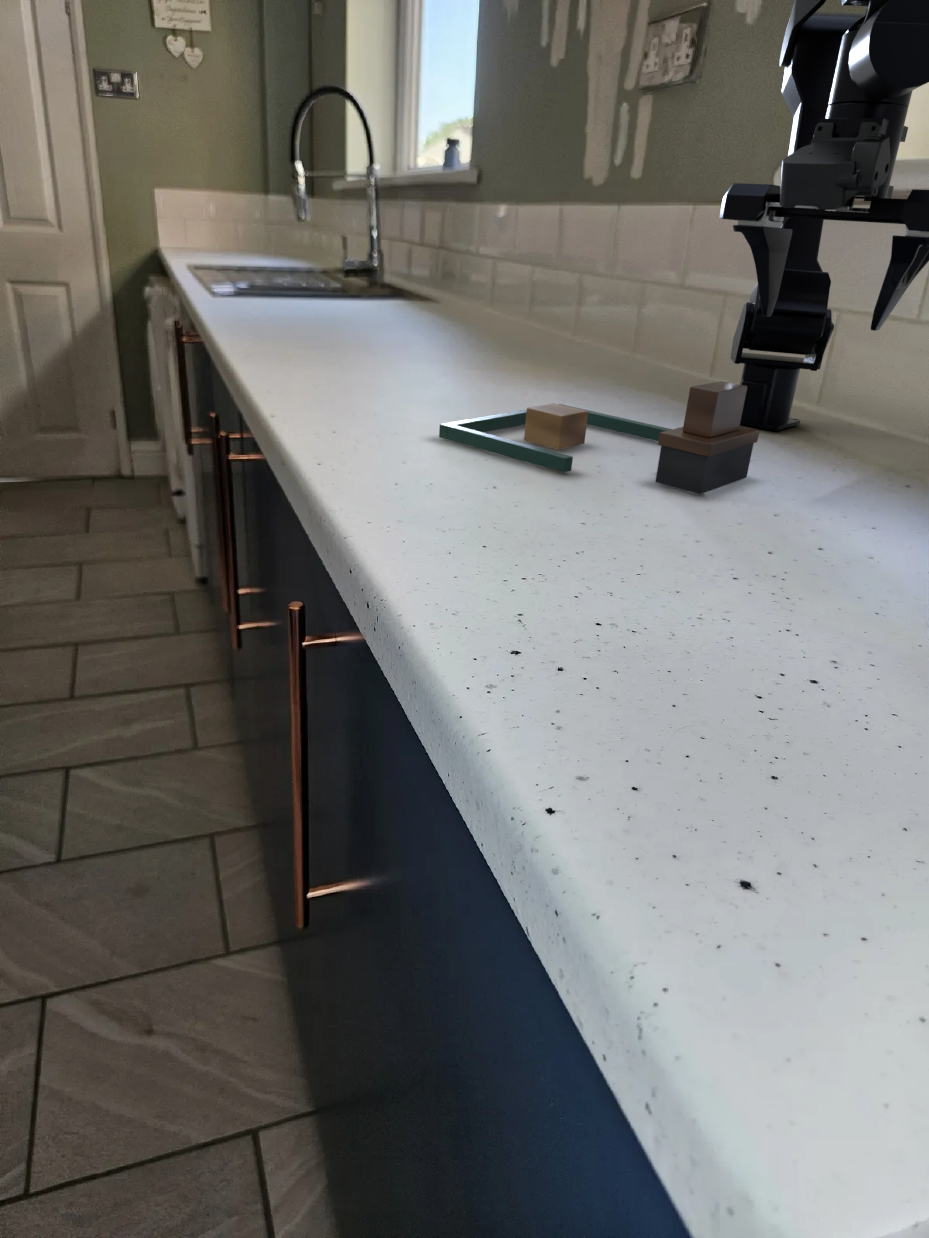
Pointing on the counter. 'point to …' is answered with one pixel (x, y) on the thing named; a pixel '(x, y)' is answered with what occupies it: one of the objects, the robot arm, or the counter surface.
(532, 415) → the cork block
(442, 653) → the counter surface
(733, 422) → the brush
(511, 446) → the frame
